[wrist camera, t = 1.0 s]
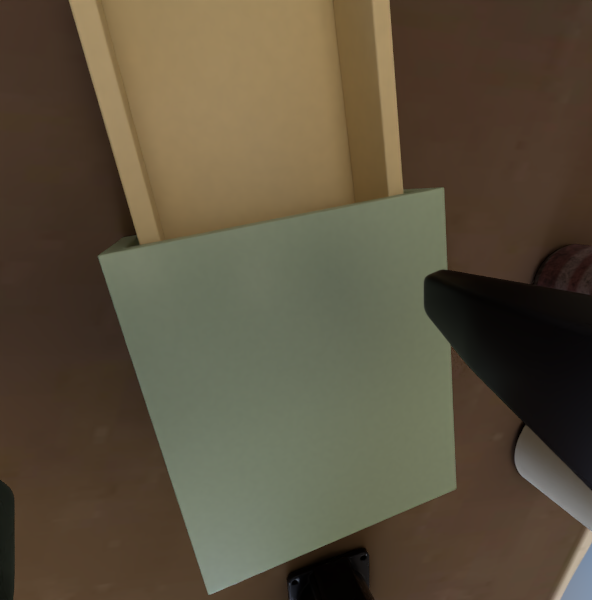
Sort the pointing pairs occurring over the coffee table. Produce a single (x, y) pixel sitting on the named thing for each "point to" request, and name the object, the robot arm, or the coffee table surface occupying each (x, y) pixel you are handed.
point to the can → (567, 269)
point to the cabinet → (292, 374)
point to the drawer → (243, 107)
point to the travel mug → (553, 476)
